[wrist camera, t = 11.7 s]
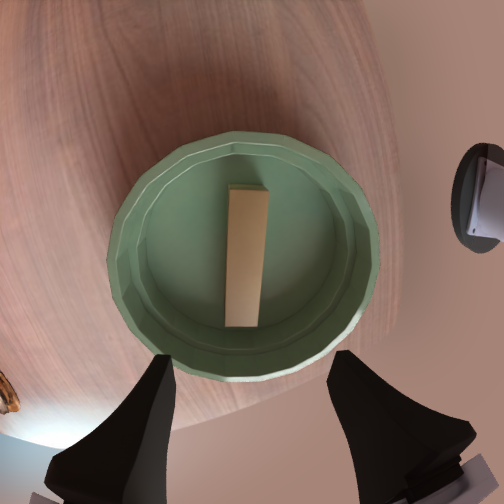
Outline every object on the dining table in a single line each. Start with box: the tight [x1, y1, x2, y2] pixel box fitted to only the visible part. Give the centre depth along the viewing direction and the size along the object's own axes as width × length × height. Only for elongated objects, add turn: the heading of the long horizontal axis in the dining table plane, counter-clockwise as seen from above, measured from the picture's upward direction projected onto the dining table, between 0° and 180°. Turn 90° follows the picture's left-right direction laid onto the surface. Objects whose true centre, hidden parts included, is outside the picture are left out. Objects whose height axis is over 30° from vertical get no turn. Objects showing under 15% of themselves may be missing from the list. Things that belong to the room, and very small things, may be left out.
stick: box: [224, 183, 269, 327], centre depth 18 cm, size 2×9×2 cm, turn 176°
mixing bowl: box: [106, 131, 380, 382], centre depth 17 cm, size 15×15×5 cm
